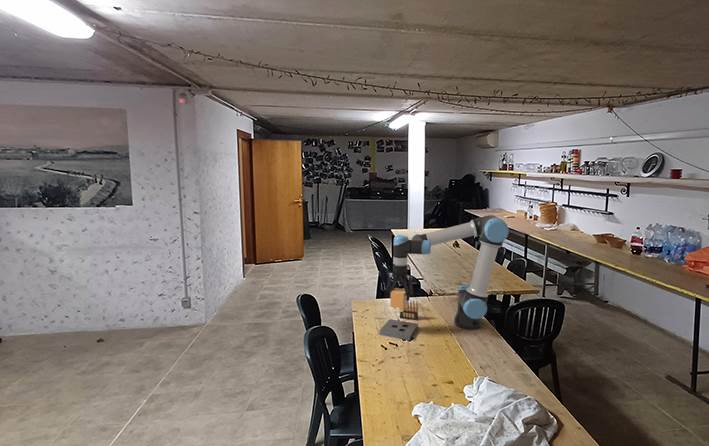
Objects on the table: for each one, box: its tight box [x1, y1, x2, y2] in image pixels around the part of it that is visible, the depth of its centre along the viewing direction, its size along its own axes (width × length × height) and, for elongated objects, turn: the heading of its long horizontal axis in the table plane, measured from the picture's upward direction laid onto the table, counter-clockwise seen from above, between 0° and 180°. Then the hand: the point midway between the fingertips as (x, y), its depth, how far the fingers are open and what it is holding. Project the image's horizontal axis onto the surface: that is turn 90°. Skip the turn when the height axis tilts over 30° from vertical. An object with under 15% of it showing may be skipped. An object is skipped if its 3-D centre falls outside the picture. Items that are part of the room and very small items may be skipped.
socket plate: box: [378, 318, 419, 341], centre depth 216 cm, size 17×17×2 cm
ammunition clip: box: [399, 299, 419, 321], centre depth 233 cm, size 11×2×12 cm, turn 71°
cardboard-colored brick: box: [389, 287, 407, 313], centre depth 214 cm, size 7×8×10 cm
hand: (399, 305), depth 214 cm, fingers closed on cardboard-colored brick, 7 cm apart
